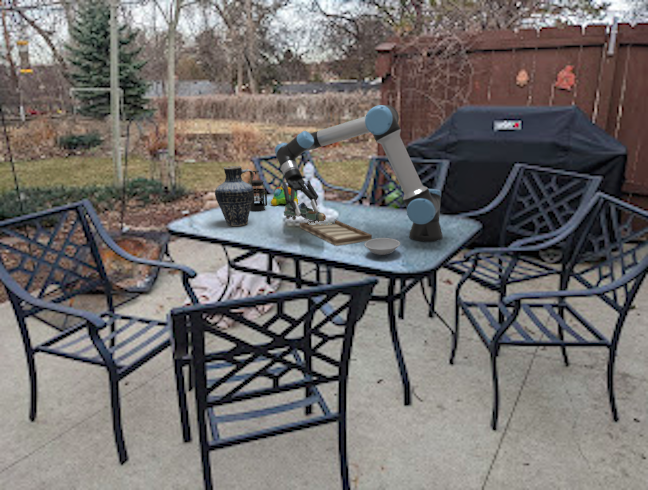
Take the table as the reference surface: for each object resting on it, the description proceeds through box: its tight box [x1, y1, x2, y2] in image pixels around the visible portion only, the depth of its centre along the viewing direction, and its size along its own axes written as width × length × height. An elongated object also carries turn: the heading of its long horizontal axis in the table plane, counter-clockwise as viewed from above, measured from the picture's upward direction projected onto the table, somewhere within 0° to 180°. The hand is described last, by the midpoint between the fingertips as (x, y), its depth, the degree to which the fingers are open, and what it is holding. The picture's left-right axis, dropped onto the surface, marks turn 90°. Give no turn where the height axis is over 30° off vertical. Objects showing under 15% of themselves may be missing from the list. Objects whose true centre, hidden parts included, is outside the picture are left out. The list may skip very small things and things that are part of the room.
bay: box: [299, 219, 373, 247], centre depth 241 cm, size 37×19×2 cm, turn 28°
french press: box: [247, 170, 268, 213], centre depth 289 cm, size 12×9×23 cm
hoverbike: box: [283, 202, 327, 223], centre depth 222 cm, size 10×25×8 cm, turn 48°
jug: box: [214, 165, 255, 227], centre depth 255 cm, size 21×19×30 cm
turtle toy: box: [270, 183, 299, 207], centre depth 309 cm, size 17×23×12 cm
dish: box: [363, 237, 401, 256], centre depth 208 cm, size 18×14×5 cm
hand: (308, 213), depth 220 cm, fingers closed on hoverbike, 8 cm apart
